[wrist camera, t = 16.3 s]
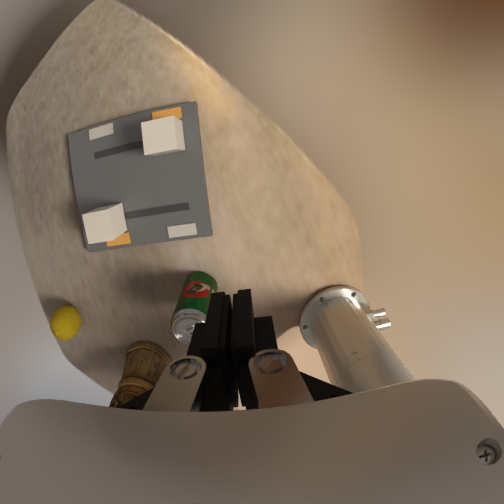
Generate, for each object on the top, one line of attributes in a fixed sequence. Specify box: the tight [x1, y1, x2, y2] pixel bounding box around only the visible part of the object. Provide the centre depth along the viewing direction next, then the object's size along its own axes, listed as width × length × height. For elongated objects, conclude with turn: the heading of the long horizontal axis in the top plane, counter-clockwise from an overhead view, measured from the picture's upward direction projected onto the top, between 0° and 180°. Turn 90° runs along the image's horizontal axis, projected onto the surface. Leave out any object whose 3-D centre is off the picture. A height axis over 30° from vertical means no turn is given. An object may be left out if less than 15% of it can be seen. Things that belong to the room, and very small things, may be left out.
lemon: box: [50, 305, 82, 340], centre depth 39 cm, size 6×6×8 cm
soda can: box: [171, 272, 218, 345], centre depth 36 cm, size 5×5×12 cm
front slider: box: [141, 116, 185, 155], centre depth 31 cm, size 4×4×5 cm
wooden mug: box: [109, 341, 172, 408], centre depth 38 cm, size 9×14×18 cm, turn 115°
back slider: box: [82, 203, 127, 244], centre depth 34 cm, size 4×4×5 cm
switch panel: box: [68, 101, 213, 252], centre depth 35 cm, size 20×18×2 cm
